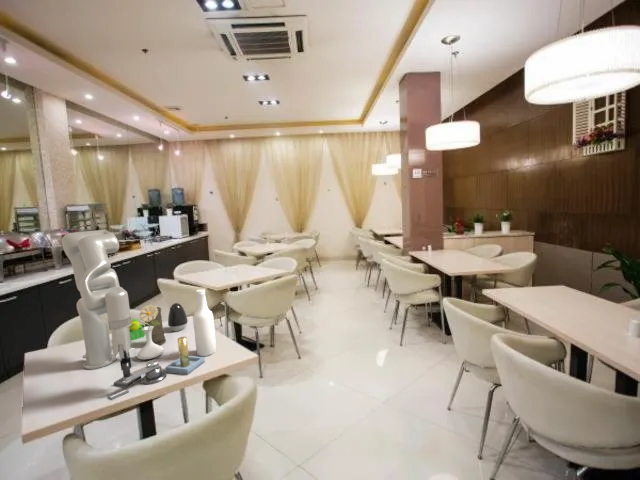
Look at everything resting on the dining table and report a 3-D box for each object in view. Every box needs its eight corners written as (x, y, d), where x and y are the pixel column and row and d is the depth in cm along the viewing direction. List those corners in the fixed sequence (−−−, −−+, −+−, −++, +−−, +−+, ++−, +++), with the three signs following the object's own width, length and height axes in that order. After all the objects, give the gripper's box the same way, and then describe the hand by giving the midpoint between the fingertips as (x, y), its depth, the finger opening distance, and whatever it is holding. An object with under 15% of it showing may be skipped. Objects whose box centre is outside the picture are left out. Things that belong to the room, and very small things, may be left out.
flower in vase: (131, 360, 156) (124, 307, 153) (151, 349, 167) (145, 300, 164) (153, 363, 152) (146, 309, 149) (172, 352, 162) (166, 301, 159)
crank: (155, 364, 141) (153, 349, 140) (161, 367, 138) (159, 351, 137) (121, 380, 130) (119, 363, 129) (127, 382, 127) (125, 365, 126)
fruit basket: (143, 333, 191) (141, 313, 190) (148, 337, 184) (146, 316, 183) (120, 339, 183) (118, 319, 182) (125, 344, 177) (122, 322, 175)
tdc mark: (125, 389, 131) (124, 388, 131) (128, 392, 129) (128, 390, 129) (107, 397, 126) (107, 396, 126) (111, 400, 124) (111, 398, 124)
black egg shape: (164, 332, 189) (161, 306, 187) (175, 326, 199) (172, 300, 197) (181, 333, 187) (178, 306, 185) (191, 326, 197) (188, 300, 196)
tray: (166, 372, 143) (165, 367, 143) (183, 360, 153) (183, 355, 153) (188, 374, 140) (187, 369, 139) (204, 362, 150) (204, 357, 150)
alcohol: (193, 354, 159) (186, 291, 155) (209, 347, 166) (203, 286, 162) (204, 358, 153) (197, 293, 150) (220, 351, 160) (214, 288, 157)
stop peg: (178, 366, 145) (175, 339, 144) (184, 362, 149) (181, 336, 147) (185, 367, 144) (182, 340, 143) (191, 363, 147) (188, 336, 146)
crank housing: (114, 385, 135) (112, 375, 134) (138, 370, 146) (137, 361, 146) (148, 389, 129) (147, 379, 129) (171, 374, 141) (170, 364, 140)
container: (169, 341, 176) (165, 307, 174) (152, 348, 168) (148, 313, 166) (159, 338, 181) (155, 305, 179) (142, 345, 173) (138, 311, 171)
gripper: (112, 319, 136) (118, 363, 138) (104, 330, 122) (111, 379, 124) (133, 315, 138) (139, 359, 140) (128, 326, 125) (135, 374, 127)
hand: (126, 368), depth 132 cm, fingers closed
